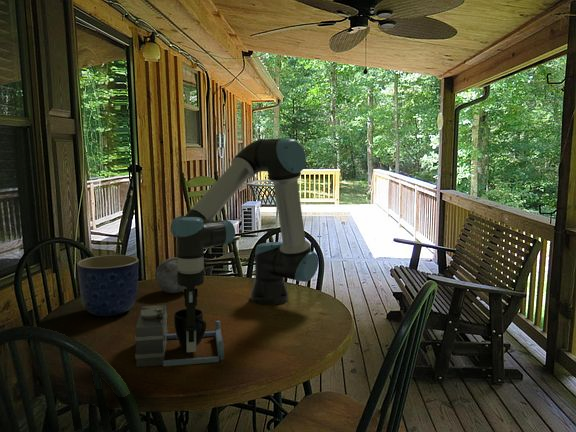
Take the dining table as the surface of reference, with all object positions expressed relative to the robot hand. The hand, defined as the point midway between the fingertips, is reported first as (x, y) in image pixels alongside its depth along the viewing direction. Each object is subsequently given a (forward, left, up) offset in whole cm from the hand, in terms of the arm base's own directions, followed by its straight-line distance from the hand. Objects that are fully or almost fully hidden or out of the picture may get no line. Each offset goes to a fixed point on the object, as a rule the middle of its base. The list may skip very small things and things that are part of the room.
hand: (191, 343), depth 132 cm
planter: (+29, -38, -2) cm, 48 cm away
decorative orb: (+7, -58, -2) cm, 58 cm away
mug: (0, +1, 0) cm, 1 cm away
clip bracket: (0, 0, -2) cm, 2 cm away
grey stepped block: (+11, 0, -2) cm, 11 cm away
